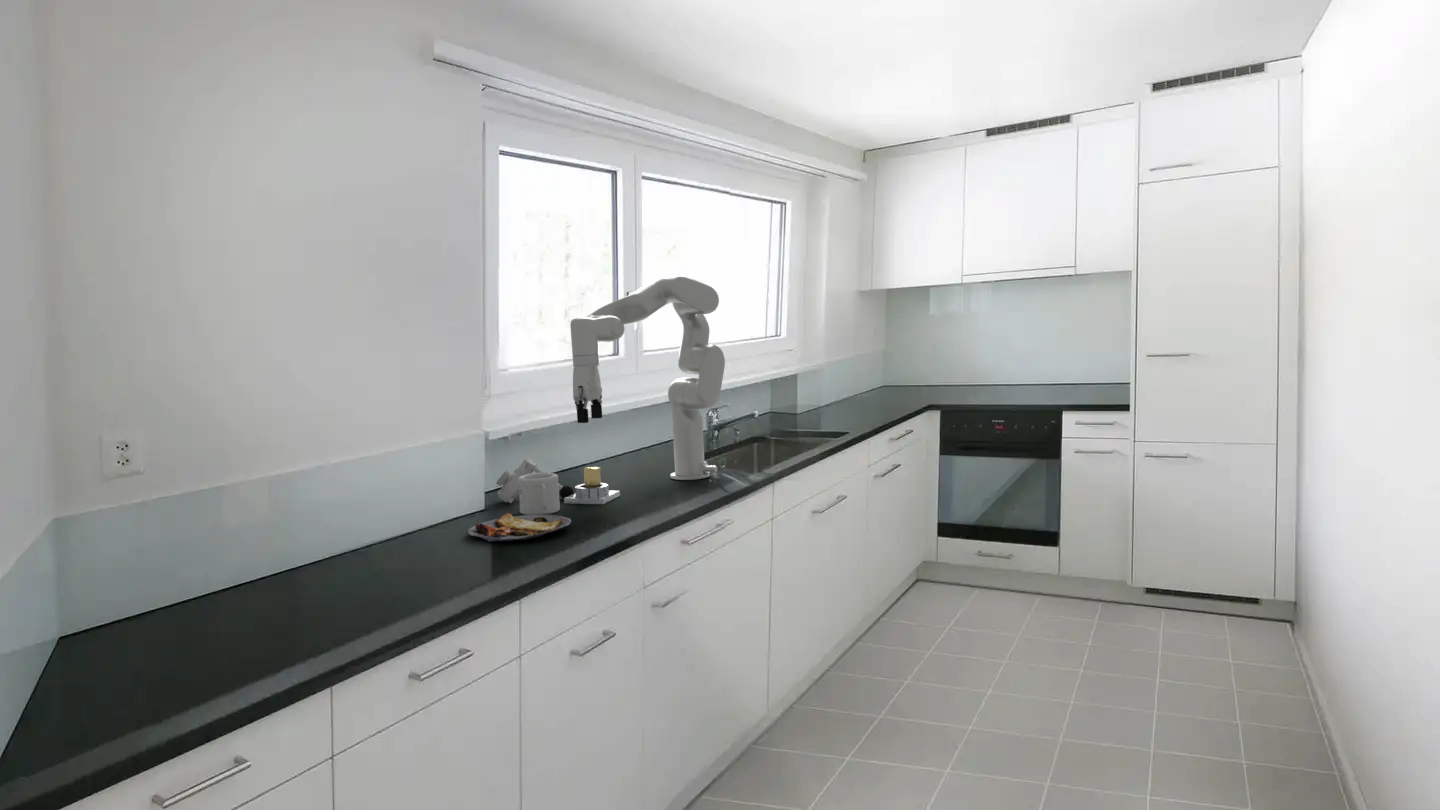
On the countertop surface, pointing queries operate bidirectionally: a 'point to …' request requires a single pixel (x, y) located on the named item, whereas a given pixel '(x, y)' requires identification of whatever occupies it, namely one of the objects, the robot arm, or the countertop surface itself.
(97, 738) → the countertop surface
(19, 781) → the countertop surface
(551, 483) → the mug
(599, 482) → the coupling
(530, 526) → the food plate
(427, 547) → the countertop surface
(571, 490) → the valve
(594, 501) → the flange plate
